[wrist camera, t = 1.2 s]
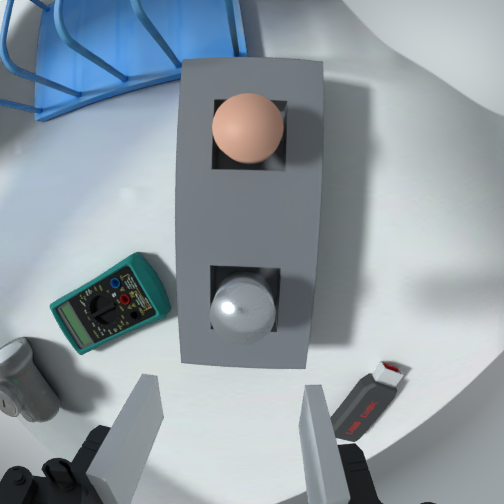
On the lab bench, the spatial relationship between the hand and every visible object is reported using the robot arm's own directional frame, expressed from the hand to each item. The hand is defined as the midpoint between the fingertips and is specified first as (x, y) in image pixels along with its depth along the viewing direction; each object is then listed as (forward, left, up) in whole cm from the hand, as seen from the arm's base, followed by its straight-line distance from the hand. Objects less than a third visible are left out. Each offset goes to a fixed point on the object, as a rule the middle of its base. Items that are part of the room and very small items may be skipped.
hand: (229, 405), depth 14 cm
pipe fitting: (-7, -35, -19) cm, 40 cm away
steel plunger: (0, 0, -15) cm, 15 cm away
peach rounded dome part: (-11, +9, -15) cm, 20 cm away
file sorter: (-31, +7, -19) cm, 37 cm away
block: (-5, +4, -19) cm, 20 cm away
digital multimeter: (-7, -15, -20) cm, 26 cm away
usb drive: (+22, +2, -20) cm, 29 cm away
